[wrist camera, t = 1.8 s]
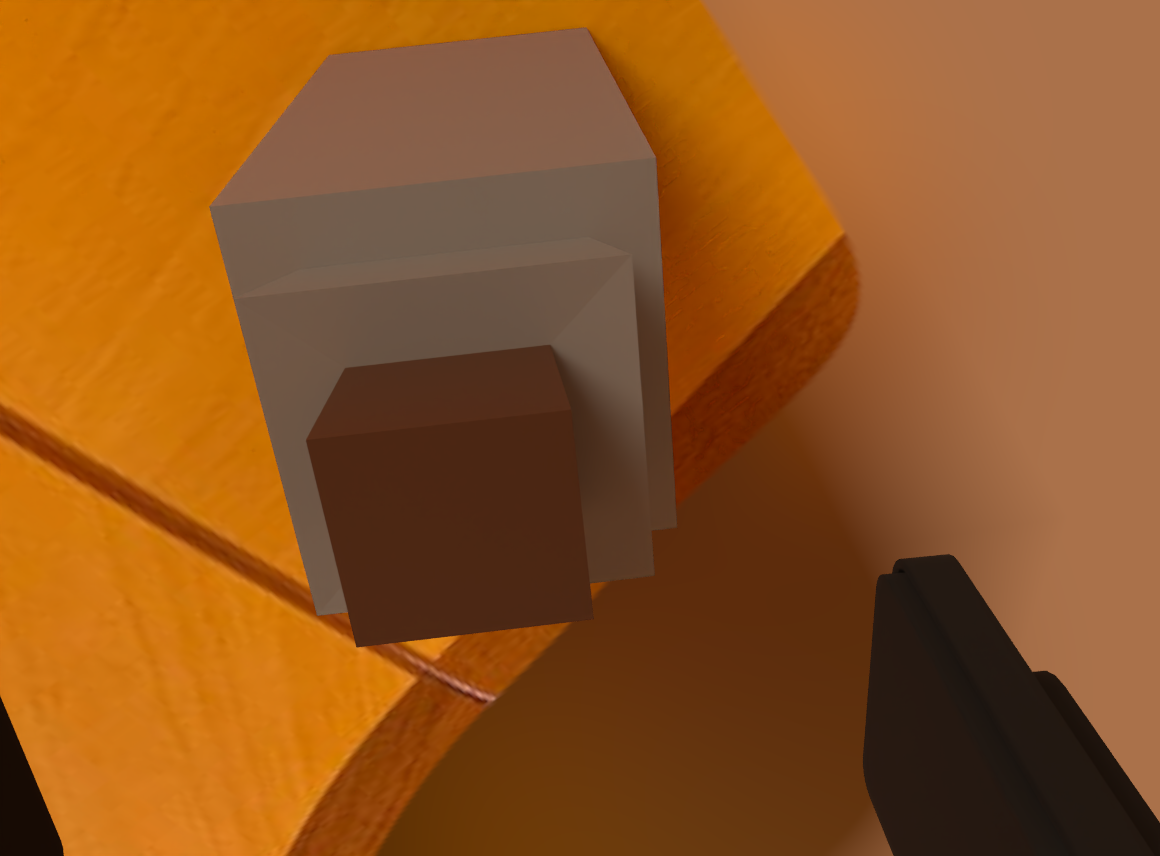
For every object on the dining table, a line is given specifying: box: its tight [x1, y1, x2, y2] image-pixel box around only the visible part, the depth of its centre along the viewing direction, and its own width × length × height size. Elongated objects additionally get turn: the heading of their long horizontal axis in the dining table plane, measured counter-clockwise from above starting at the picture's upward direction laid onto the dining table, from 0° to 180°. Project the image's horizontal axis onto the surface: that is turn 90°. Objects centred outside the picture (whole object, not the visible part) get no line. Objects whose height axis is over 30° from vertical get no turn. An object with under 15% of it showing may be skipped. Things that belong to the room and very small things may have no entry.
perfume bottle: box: [210, 28, 677, 647], centre depth 22 cm, size 7×7×18 cm
